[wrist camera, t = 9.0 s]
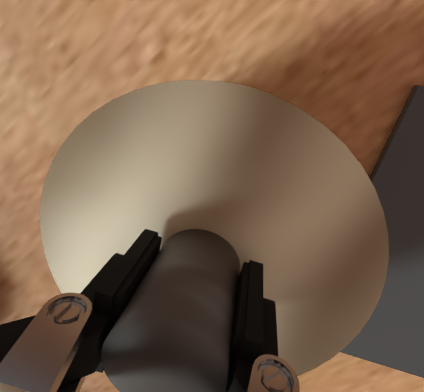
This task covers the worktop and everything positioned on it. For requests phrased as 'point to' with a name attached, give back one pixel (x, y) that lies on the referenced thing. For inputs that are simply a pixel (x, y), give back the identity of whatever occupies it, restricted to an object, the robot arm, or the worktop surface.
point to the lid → (215, 228)
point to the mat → (400, 249)
